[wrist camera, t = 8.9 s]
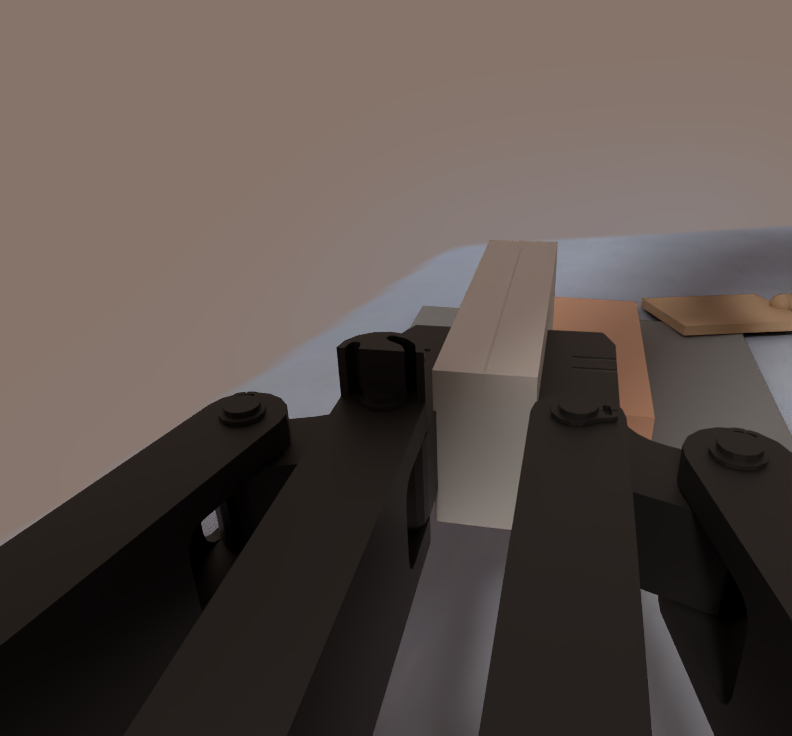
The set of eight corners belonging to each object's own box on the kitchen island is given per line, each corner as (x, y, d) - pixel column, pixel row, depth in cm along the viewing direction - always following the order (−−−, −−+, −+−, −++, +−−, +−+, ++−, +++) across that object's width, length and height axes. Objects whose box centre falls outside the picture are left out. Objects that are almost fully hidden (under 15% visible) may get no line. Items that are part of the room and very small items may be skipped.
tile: (647, 462, 30) (631, 336, 42) (654, 417, 29) (636, 301, 41) (442, 440, 32) (483, 326, 45) (442, 397, 31) (484, 292, 44)
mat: (737, 332, 44) (738, 326, 43) (806, 477, 30) (808, 469, 30) (423, 311, 48) (422, 305, 48) (354, 428, 34) (354, 421, 34)
